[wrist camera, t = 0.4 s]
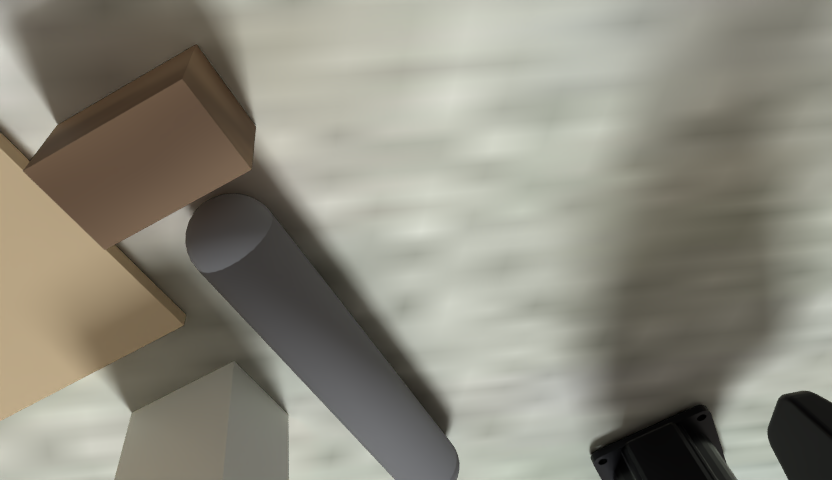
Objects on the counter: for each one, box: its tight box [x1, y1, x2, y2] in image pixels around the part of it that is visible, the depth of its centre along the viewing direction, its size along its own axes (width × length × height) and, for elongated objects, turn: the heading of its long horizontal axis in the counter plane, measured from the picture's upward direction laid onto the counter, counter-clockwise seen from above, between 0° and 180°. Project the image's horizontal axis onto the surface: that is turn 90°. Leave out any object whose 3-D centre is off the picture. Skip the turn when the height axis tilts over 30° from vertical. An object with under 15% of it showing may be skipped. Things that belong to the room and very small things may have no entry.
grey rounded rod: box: [186, 194, 459, 480], centre depth 25 cm, size 18×3×3 cm, turn 26°
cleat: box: [23, 44, 256, 250], centre depth 18 cm, size 3×5×3 cm, turn 116°
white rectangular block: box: [114, 361, 289, 480], centre depth 24 cm, size 4×5×6 cm
